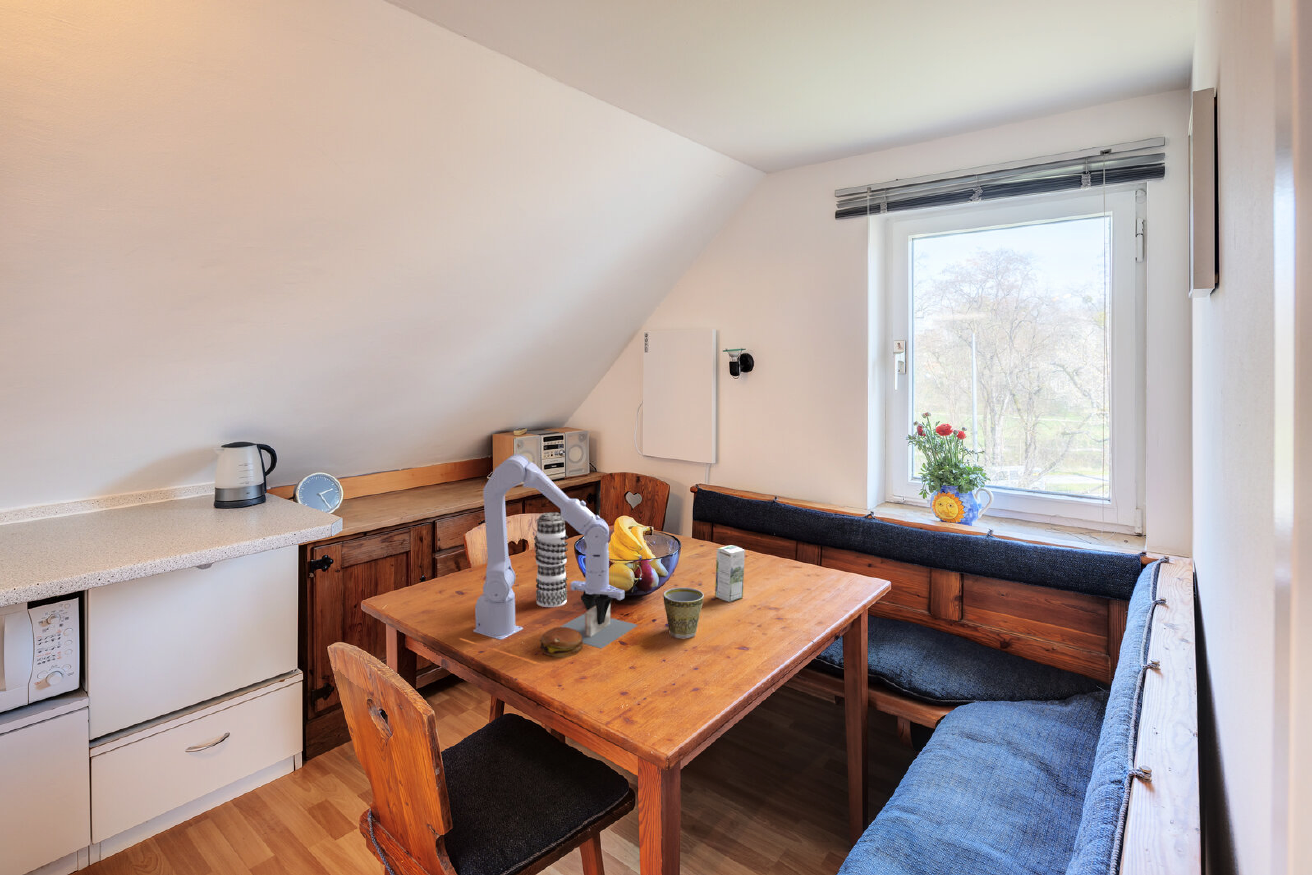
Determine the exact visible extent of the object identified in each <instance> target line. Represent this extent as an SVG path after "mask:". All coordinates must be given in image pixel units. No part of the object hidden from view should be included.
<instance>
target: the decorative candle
mask: <svg viewBox="0 0 1312 875" xmlns="http://www.w3.org/2000/svg"><path fill="white" fill-rule="evenodd" d="M535 521H536V523H537V525H536V535H534V538H533V540H534V541H535V542H534V547H535V550H534V553H535V555H534V558H535V564H537V572H536V579H535V583H536V585H535V587H536V591H535V594H536V596H535V599H536V604H537V605H538V606H540V607H545V608H555V607H562V606H564V605H565V604H566V603H568V602H567V601H568V600H567V598H568V594H567V593H568V589H567V587H568V583H567V581H568V577H567V574H566V572H567V571H566V563H567V560H568V559H567V558H568V555H567V554H565V553H566V552H567V551H568V550H569V549H568V548H567V546H569V545H568V542H567V541H565V540H567V539H568V538H569V536H568V535H567V534H566V525H565V524H566V522H567V521H566V520H565V519H564V518H562V517H561V513H559V512H544V513H541V514H540V515H539V517H538V518H537V519H536V520H535Z"/></svg>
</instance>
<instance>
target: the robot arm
mask: <svg viewBox="0 0 1312 875" xmlns="http://www.w3.org/2000/svg"><path fill="white" fill-rule="evenodd" d="M522 482H523V484H522V488H532V489H533V488H534V489H536V490H538V492H540V493H541V494H542V495H543V496H545V497H546V498H547V499H548V500H549V501H551V502H552V503H553V505H555V506H557V507H558V508H559V509H560V514H561V517H562V518H564V519H565V520H566V521H565V522H566V523H568V524H569V525H570V526H571V527H573V529H575V531H576V532H578V533H579V534H580V535H583V538H584V541H585V543H586V550H585V581H584V580H583V581H582V580H574V581H571V582H570V591H573V592H574V591H579V592H582V594H581V595H580V600H581V601H582V604H583V605H584V606H585V609H586V611H587V610H589V609H591V608H592V607H594V606H596V608H597V622H598V624H599V625H601V624H602V623H604V621H605V617H606V613H607V610H608V607H609V605H610V606H611V603H612V600H613V599H616V600H617V601H621V600H624V599H625V590H624V589H621V588H617V587H615V586H613V585H611V584H610V574H609V573H610V551H609V540H610V527H609V525H608V523H607V522H606V520H605V519H604V518H601V517H600V516H599V515H598V514H594V513H593V512H592V511H591V510H590V509H589V508H588V507H587V506H586V505H587V503H586V501H584V500H581V501H580V500H579V499H578V498H570V497H569V496H568V495H567V494H566V493H564V491H563V490H562V489H560V487H558V486H557V485H556V484H555V482H553V481H552V479H550V478H549V476H548V475H546V474H545V472H543V471H542V469H541V468H540V467H539V466H538V465H536V464H535V463H534V462H532V461H529V459H528V458H527V457H526V456H525V455H523V454H520V453H519V454H518V453H516V454H512V455H510V456H509V457H508V458H506V459H505V460H504V461H503V462H502V463H500V464H499V465H498V466H496V467H495V468H494V470H493V472H492V474H491V475H490V477H489V479H488V480H487V483H486V484H485V486H484V487H483V489H482V490H483V491H482V492H483V505H484V506H483V507H484V508H483V509H484V523H485V524H484V525H485V535H486V536H485V537H486V551H487V566H486V570H485V581H484V583H483V584H482V585H483V587H482V593H483V594H481V595H480V596H479V597H477V600H476V602H475V609H474V610H475V612H474V613H475V629H473V632H474V633H476V634H481V635H483V636H487V637H489V638H493V639H496V640H499V641H502V640H504V639H507V638H508V637H510V636H512V635H514V634H516V633H518V632H520V631H521V630H523V629H524V627H523V626H519V625H516V595H515V592H514V591H513V588H512V587H513V586H514V584H515V582H516V579H517V578H516V576H517V575H516V573H515V571H514V569H513V567H512V561H511V558H510V556H509V546H508V544H509V543H508V529H507V527H508V526H507V513H506V512H507V511H506V509H507V508H506V496H505V495H506V494H507V493H508V492H509V491H510V490H511V489H512V488H515V487H516V486H519V485H520V484H521V483H522Z"/></svg>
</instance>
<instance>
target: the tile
mask: <svg viewBox="0 0 1312 875" xmlns="http://www.w3.org/2000/svg"><path fill="white" fill-rule="evenodd" d="M584 614H585V635H586V636H590V637H591V636H593V635H594V634H596V633H597V632H599V631H600V630H602V629H603V628H605V627H606V626H608V625H609V624H610V618H611V604H610V605H609V607H608V610H607V613H606V617H605V621H604V623H602V624H601V625H599V624H598V622H597V608H596V606H594V607H592V608H591V609H589V610H587V609H586V611H585V612H584Z"/></svg>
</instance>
